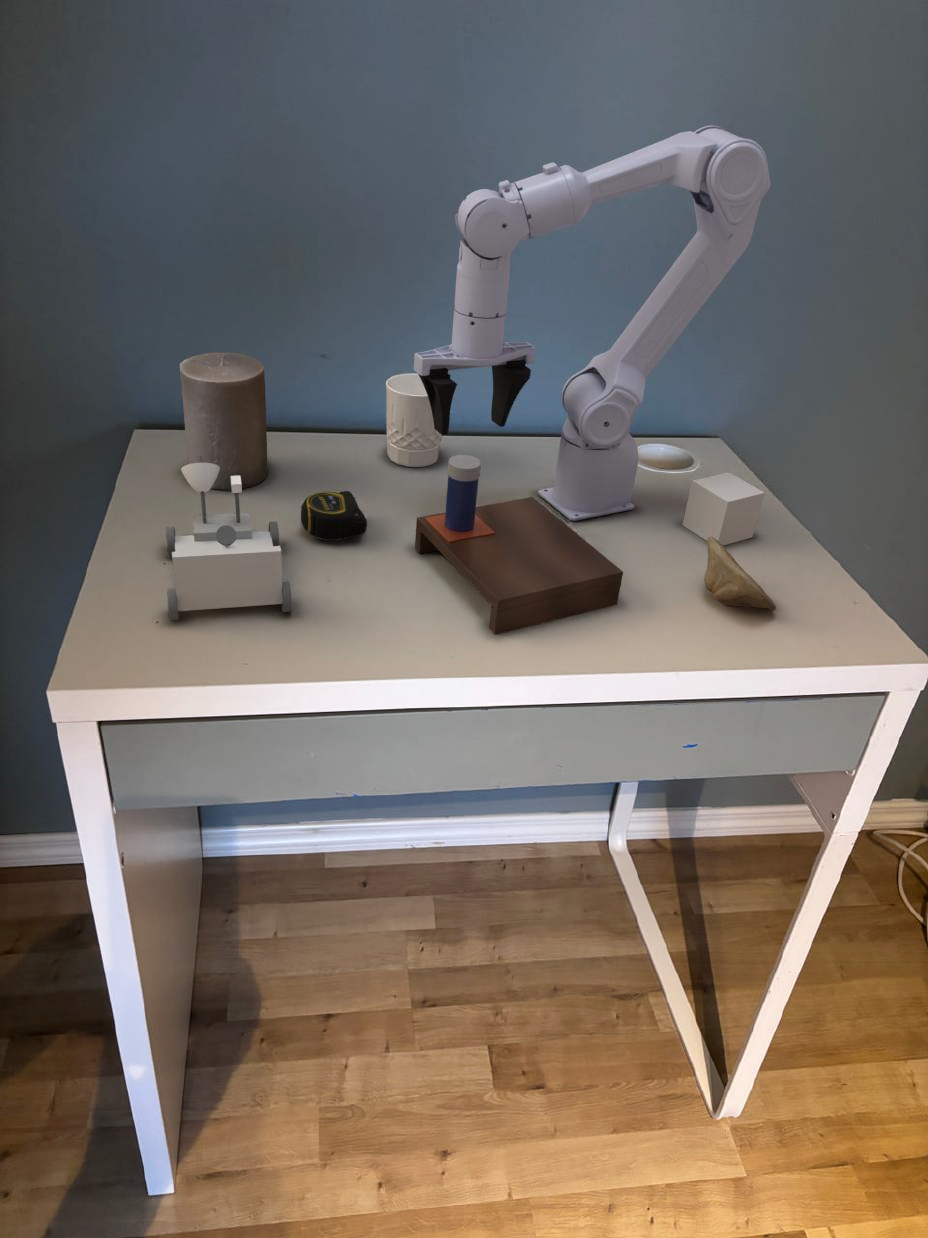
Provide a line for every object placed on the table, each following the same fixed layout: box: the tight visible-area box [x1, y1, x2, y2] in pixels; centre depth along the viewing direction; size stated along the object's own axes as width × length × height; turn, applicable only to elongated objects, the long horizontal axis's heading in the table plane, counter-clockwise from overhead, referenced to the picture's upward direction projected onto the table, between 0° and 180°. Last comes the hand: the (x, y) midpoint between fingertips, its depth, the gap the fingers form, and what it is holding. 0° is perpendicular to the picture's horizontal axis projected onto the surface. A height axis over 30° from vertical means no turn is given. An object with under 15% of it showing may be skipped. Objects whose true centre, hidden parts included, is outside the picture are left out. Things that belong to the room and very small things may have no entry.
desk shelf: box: [414, 496, 624, 635], centre depth 106 cm, size 15×18×4 cm
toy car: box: [165, 456, 293, 621], centre depth 100 cm, size 18×10×12 cm
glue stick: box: [444, 454, 482, 532], centre depth 105 cm, size 3×3×8 cm
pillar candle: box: [179, 352, 269, 491], centre depth 118 cm, size 10×10×15 cm
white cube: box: [682, 471, 765, 546], centre depth 118 cm, size 6×6×6 cm
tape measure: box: [300, 490, 368, 541], centre depth 111 cm, size 7×7×4 cm
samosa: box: [703, 536, 777, 611], centre depth 105 cm, size 9×4×10 cm
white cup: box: [385, 373, 443, 468], centre depth 127 cm, size 8×8×10 cm
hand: (469, 427), depth 115 cm, fingers open, 7 cm apart
